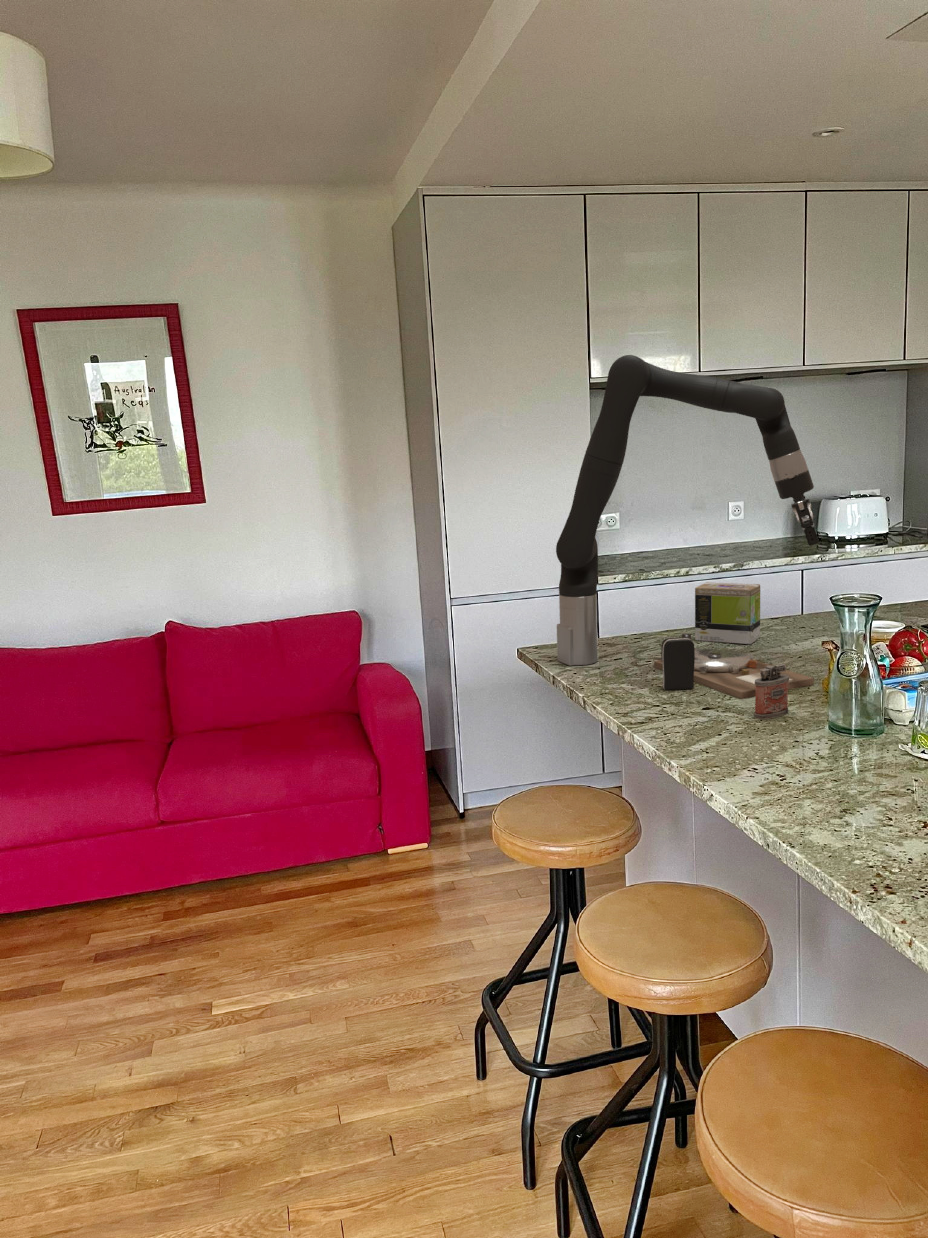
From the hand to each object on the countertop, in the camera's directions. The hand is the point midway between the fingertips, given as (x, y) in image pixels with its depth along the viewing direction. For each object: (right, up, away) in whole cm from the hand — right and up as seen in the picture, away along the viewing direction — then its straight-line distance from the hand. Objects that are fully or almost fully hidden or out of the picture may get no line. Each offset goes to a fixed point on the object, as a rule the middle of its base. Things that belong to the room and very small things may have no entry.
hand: (813, 541), depth 205 cm
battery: (-32, -33, -4) cm, 46 cm away
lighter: (-18, -37, -25) cm, 48 cm away
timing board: (-18, -31, +4) cm, 36 cm away
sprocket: (-20, -28, +8) cm, 36 cm away
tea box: (-8, -23, +38) cm, 46 cm away
